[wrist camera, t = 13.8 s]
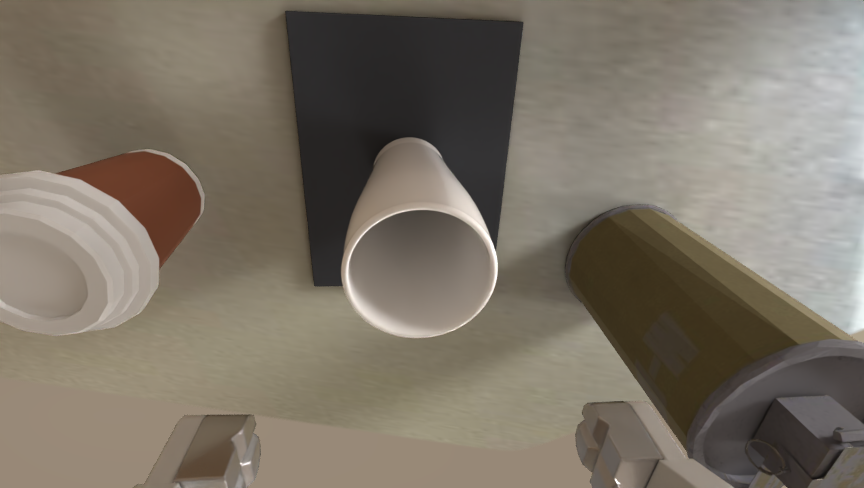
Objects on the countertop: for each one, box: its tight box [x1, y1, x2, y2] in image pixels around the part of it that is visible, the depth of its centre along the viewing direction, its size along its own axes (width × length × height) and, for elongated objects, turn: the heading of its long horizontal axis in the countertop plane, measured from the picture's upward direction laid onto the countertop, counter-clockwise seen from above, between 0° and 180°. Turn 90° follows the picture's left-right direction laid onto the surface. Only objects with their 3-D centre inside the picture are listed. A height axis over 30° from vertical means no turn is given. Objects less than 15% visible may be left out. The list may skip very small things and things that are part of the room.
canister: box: [565, 204, 864, 488], centre depth 27 cm, size 11×10×20 cm
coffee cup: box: [0, 149, 205, 336], centre depth 25 cm, size 9×9×12 cm
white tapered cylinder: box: [341, 137, 498, 338], centre depth 24 cm, size 7×7×15 cm
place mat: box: [285, 11, 523, 286], centre depth 31 cm, size 20×15×1 cm
